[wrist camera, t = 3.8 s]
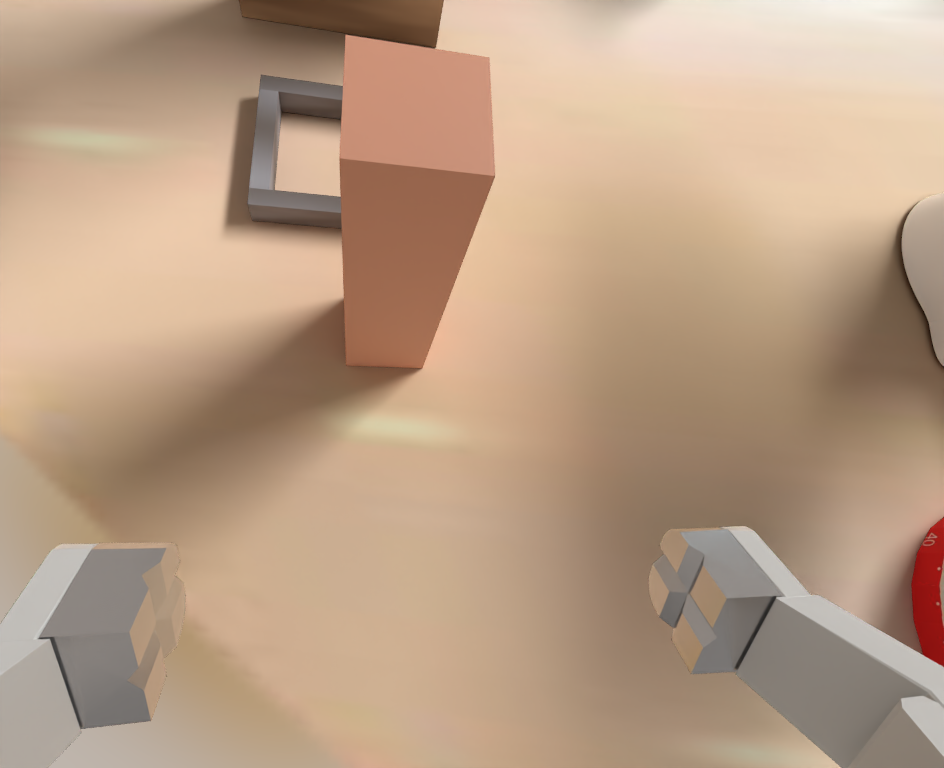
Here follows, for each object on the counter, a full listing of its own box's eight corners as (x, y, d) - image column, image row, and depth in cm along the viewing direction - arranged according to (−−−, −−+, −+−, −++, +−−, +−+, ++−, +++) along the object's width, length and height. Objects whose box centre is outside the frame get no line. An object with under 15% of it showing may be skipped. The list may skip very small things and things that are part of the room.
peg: (422, 368, 29) (495, 176, 14) (346, 365, 29) (339, 158, 14) (422, 300, 31) (489, 57, 16) (348, 295, 30) (346, 34, 15)
